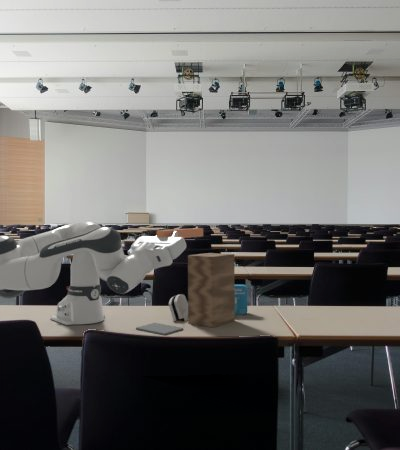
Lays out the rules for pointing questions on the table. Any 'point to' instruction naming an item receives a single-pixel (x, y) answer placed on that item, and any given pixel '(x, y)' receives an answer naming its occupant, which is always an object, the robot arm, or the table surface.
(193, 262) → the brown block
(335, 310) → the table surface
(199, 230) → the pin
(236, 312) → the data package
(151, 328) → the mat
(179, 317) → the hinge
